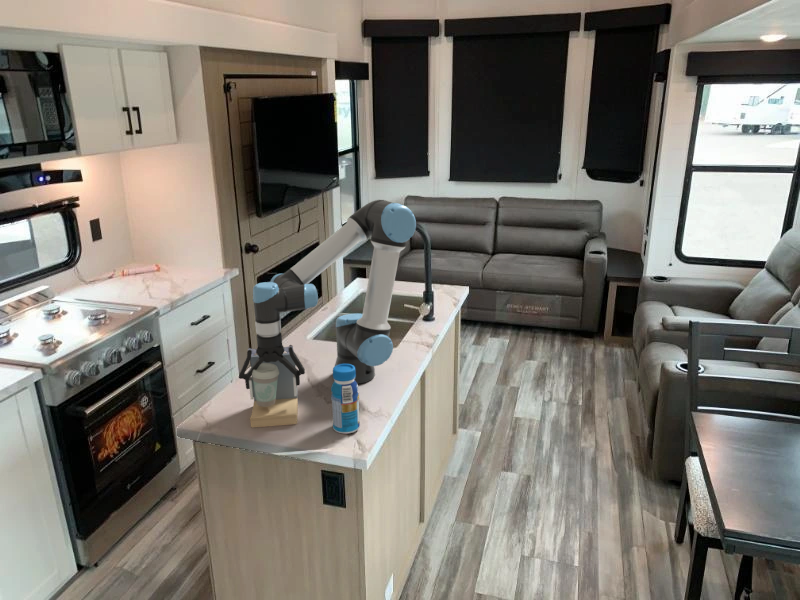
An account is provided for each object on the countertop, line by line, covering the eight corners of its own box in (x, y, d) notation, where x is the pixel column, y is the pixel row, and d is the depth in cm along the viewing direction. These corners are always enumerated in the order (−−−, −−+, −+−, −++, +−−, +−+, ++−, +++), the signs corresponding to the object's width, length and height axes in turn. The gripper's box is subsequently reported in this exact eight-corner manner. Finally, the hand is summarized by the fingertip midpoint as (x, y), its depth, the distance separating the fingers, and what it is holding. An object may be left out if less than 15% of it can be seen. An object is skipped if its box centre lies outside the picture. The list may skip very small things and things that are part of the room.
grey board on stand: (298, 402, 197) (294, 352, 191) (297, 424, 183) (293, 371, 177) (255, 405, 195) (250, 355, 189) (250, 428, 181) (245, 374, 175)
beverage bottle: (327, 431, 179) (324, 370, 173) (341, 418, 186) (338, 360, 180) (352, 437, 175) (349, 375, 169) (364, 424, 183) (363, 364, 177)
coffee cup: (247, 406, 184) (246, 371, 180) (259, 395, 192) (258, 360, 188) (273, 410, 182) (272, 374, 178) (283, 398, 190) (283, 364, 186)
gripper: (309, 326, 185) (313, 387, 192) (228, 331, 182) (235, 393, 188) (309, 334, 178) (313, 398, 185) (225, 339, 175) (232, 404, 181)
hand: (274, 396), depth 186 cm, fingers open, 13 cm apart
